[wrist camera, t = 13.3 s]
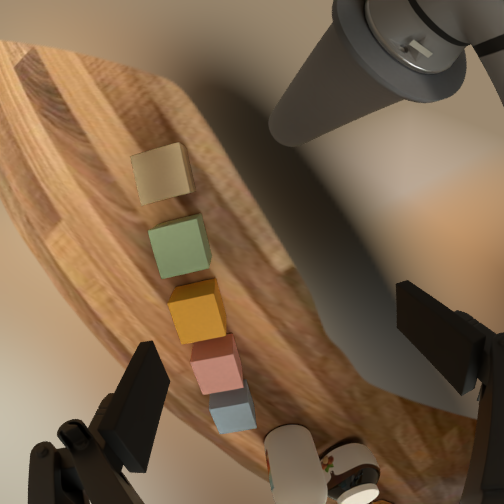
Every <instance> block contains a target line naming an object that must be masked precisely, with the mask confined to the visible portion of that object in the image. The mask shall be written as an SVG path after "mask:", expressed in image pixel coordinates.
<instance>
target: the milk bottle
mask: <svg viewBox="0 0 504 504" xmlns="http://www.w3.org/2000/svg"><path fill="white" fill-rule="evenodd" d="M264 447H265V454H266V461H267V467H268V474H269V480H270V485H271V490H272V495H273V498H274V502H275V504H326V501H327V494H328V492H327V484H326V480H325V476H324V473H323V469H322V466H321V463H320V460H319V457H318V454H317V451H316V447H315V444H314V441H313V438H312V436H311V433H310V431H309V430H308V429H306V428H305V427H303V426H300V425H285V426H281V427H278V428H276V429H274V430H273V431H271V432H270V433H269V434H268V435H267V437H266V439H265V441H264Z"/></svg>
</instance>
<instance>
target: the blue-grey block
mask: <svg viewBox="0 0 504 504" xmlns="http://www.w3.org/2000/svg"><path fill="white" fill-rule="evenodd" d="M243 385H244V388H239V389H234V390H229V391H223V392H217V393H211V394H210V402H209V411H210V413H211V415H212V417H213V420H214V422H215V424H216V426H217V429H218V431H219V433H220V434H225V433H231V432H238V431H243V430H249V429H254V428H257V425H256V417H255V410H254V403H253V400H252V397H251V394H250V390H249V387H248V384H247V380H246V379H245V380H243Z"/></svg>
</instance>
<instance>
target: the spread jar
mask: <svg viewBox="0 0 504 504" xmlns="http://www.w3.org/2000/svg"><path fill="white" fill-rule="evenodd" d="M320 463H321V466H322V469H323V473H324V476H325V480H326V484H327V492H328V494H327V496H328V497H329V498H331V499H333V500H336V501H337V502H338V504H368V503H369V502H371V501H373V500H374V499H375V498H376V497H377V496H378V494H379V490H378V488H377V486H376V484H377V482H378V480H379V478H380V468H379V465H378V463H377V461H376V459H375V457H374V455H373V453H372V452H371V450H370V449H369V448H368V447H366V446H365V445H363V444H361V443H358V442H344V443H340V444H338V445H335V446H333V447H332V448H330V449H329V450H328V451H326V452H325V453H324V455H323V456H322V457H321V459H320Z"/></svg>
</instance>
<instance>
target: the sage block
mask: <svg viewBox="0 0 504 504" xmlns="http://www.w3.org/2000/svg"><path fill="white" fill-rule="evenodd" d="M148 234H149V238H150V241H151V245H152V249H153V252H154V256H155V259H156V263H157V266H158V269H159V273H160V276H161V279H164V278H169V277H173V276H178V275H182V274H186V273H191V272H195V271H200V270H204V269H208V268H209V267H210V262H211V258H212V254H211V250H210V246H209V242H208V238H207V234H206V230H205V226H204V222H203V218H202V214H201V213H200V214H196V215H192V216H188V217H184V218H180V219H176V220H172V221H168V222H164V223H160V224H158V225H156V226H155V227H153V228H152V229H150V230H148Z"/></svg>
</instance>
